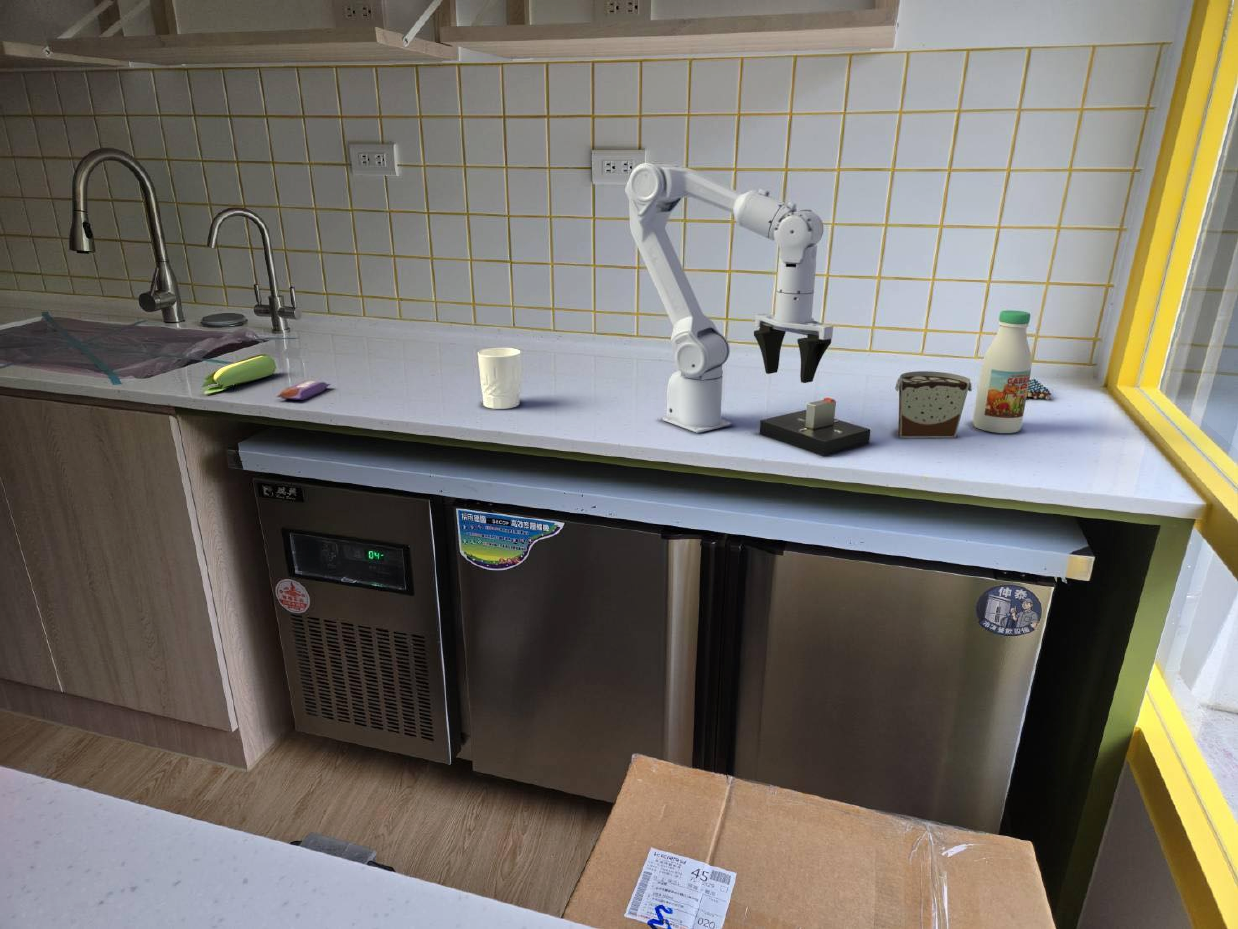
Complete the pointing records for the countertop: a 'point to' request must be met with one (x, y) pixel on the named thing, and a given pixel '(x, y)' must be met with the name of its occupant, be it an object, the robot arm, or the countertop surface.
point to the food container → (930, 404)
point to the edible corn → (241, 372)
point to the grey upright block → (820, 413)
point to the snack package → (303, 390)
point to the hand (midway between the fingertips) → (788, 377)
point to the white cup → (500, 377)
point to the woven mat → (1037, 390)
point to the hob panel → (814, 434)
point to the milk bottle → (1004, 376)
